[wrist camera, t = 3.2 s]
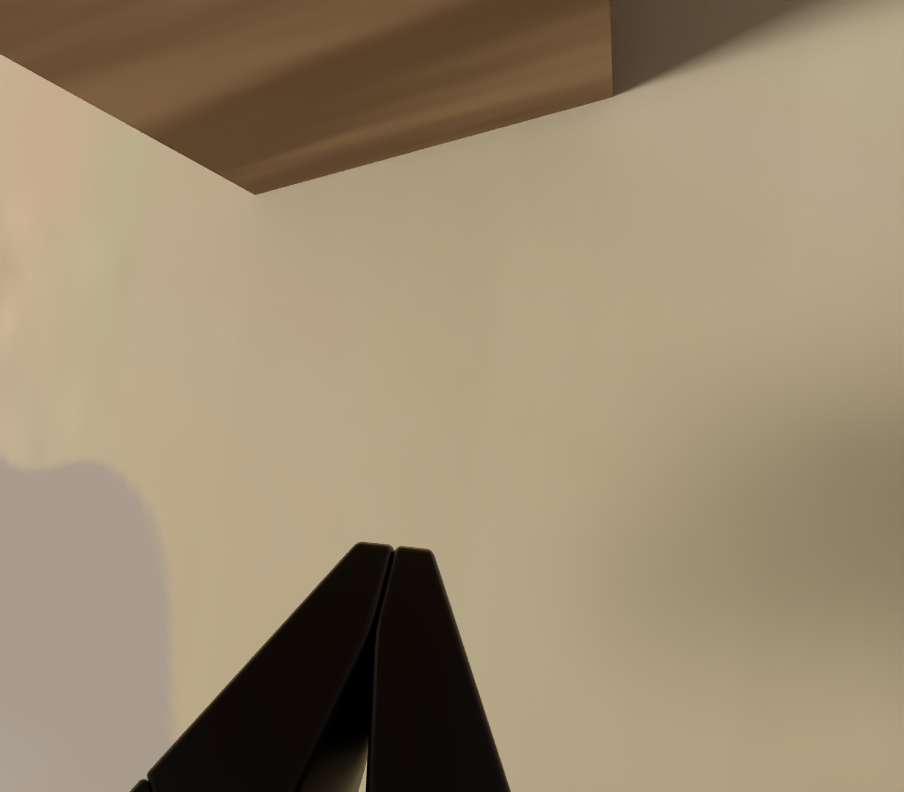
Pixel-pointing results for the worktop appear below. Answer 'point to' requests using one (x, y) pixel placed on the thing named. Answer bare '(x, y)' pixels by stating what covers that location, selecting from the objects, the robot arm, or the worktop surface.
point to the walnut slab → (314, 73)
